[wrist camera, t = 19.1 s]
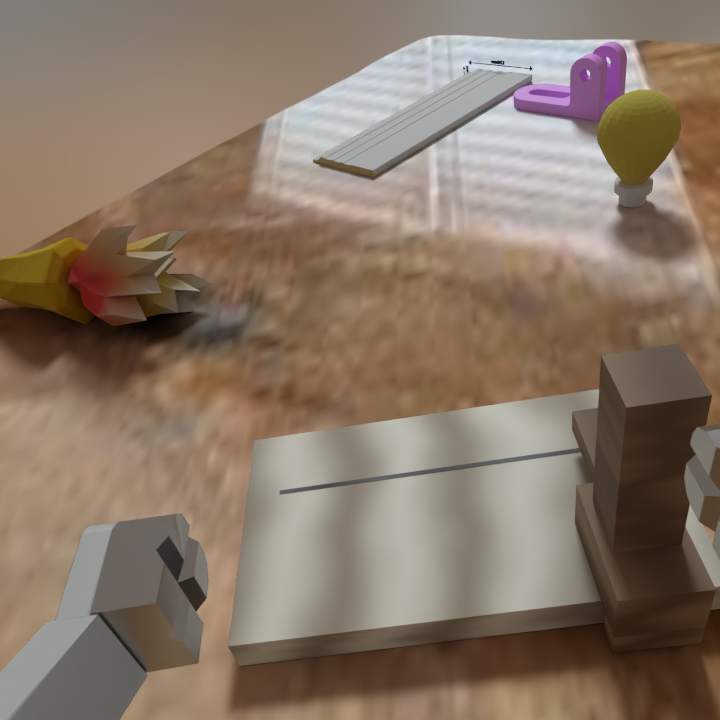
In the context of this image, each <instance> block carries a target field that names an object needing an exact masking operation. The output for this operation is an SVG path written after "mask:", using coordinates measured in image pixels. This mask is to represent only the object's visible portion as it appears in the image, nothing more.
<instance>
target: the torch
mask: <svg viewBox="0 0 720 720" xmlns="http://www.w3.org/2000/svg"><path fill="white" fill-rule="evenodd" d="M136 226H137V225H133V226H126V227H118V228H110V229H103V230H101V232H100V233H99V234H98V235H97V236H96V238H95V239H94V240H93V241H92V242H91V244H90V245H89V246H88V245H86V244H84V243H81V242H79V241H77V240H75V239H73V238H71V237H68V238H65V239H63V240H61V241H59V242H56V243H54V244H52V245H49V246H47V247H45V248H42V249H40V250H37V251H32V252H28V253H24V254H20V255H15V256H11V257H7V258H0V298H2V299H5V300H7V301H9V302H12V303H14V304H16V305H18V306H23V307H29V308H36V309H42V310H49V311H52V312H55V313H57V314H60V315H62V316H65V317H67V318H70V319H73V320H75V321H78V322H80V323H83V324H88V323H89V322H90V321H91V320H92V319H93V318H94V317H95V316H97V317H98V318H100V319H102V320H103V321H105V322H107V323H109V324H110V325H112V326H117V325H123V324H129V323H135V322H141V321H146V320H147V319H146V317H149V316H153V315H158V314H164V313H178V312H192V311H195V309H194V308H193V306H192V305H191V303H190V302H189V300H188V299H187V297H186V296H185V294H184V293H183V292H195V291H199V290H197V288H200V287H204V286H207V285H211V284H210V283H208V282H206V281H204V280H202V279H201V278H199V277H197V276H195V275H193V274H168V273H166V270H167V269H168V268H169V267H170V266H171V265H172V264H173V263H174V262H175V260H176V259H175V258H171V259H168V258H169V257H170V256H171V255H172V254H173V253H174V252H175V251H170V250H171V249H172V248H173V247H174V246H175V245H176V244H177V243H178V242H179V241H180V240H181V239H182V237H183V236H184V235H185V234H186V233H187V232H188V231H186V230H185V231H174V232H166V233H161V234H158V235H155V236H152V237H149V238H146V239H143V240H140V241H137V242H134V243H131V244H128V245H127V239H128V237H129V235H130V234H131V233H132V231H133V230H134V228H135V227H136Z"/></svg>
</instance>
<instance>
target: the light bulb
mask: <svg viewBox="0 0 720 720" xmlns="http://www.w3.org/2000/svg"><path fill="white" fill-rule="evenodd" d="M680 130H681V121H680V116H679V113H678V111H677V109H676V107H675V105H674V104H673V102H672V101H671V100H670V99H669V98H667V97H666V96H664V95H663V94H661V93H659V92H656V91H652V90H636V91H632V92H628V93H626V94H624V95H622V96H620V97H619V98H617V99H616V100H615V101H613V102H612V103H611V104H610V105H609V106H608V107H607V109H606V110H605V112H604V114H603V115H602V117H601V119H600V121H599V125H598V129H597V140H598V144H599V146H600V148H601V150H602V152H603V154H604V156H605V158H606V160H607V162H608V163H609V165H610V166H611V167H612V169H613V170H614V171H615V173H616V174H617V175H618V178H616V180H615V188H614V191H615V193H616V194H617V195H619V204H620V205H622V206H624V207H639V206H642V205H644V204H645V202H646V196H647V195H648V194H650V193H651V191H652V187H653V179H652V177H650V176H651V175H652V174H653V172H654V171H655V170H656V169H657V168H658V167H659V166H660V165H661V164H662V163H663V161H664V160H665V159H666V157H667V156H668V154H669V153H670V151H671V150H672V148H673V147H674V145H675V144H676V142H677V140H678V138H679V135H680Z"/></svg>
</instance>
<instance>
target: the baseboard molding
mask: <svg viewBox="0 0 720 720" xmlns="http://www.w3.org/2000/svg"><path fill="white" fill-rule="evenodd" d="M492 62H493V63H495V64H502V63H501V62H502V61H491V63H492ZM469 63H470V64H471V63H472V62H471V60H470V62H469ZM477 64H482V63H477ZM487 65H492V64H487ZM503 65H504V61H503ZM497 66H502V65H497ZM507 67H511V66H507ZM466 68H468V66H466ZM516 68H521V67H516ZM463 69H465V68H464V67H463ZM526 69H530V71H531V70H532V68H531V66H530V68H526ZM466 71H467V72H468V69H467V70H466ZM464 74H465V73H464ZM531 81H532V74H522V73H513V72H508V73H507V72H502V71H492V70H483V69H477V70H475V71H473V72H469V73H467V74H465V75H463V76H462V77H460V78H458V79H456V80H454V81H453V82H451V83H449V84H447V85H446V86H444V87H442V88H440V89H438V90H437V91H435V92H433V93H431V94H429V95H428V96H426V97H424V98H422V99H420V100H419V101H417V102H415V103H413V104H411V105H410V106H408V107H406V108H404V109H403V110H401V111H399V112H397V113H395V114H394V115H392V116H390V117H388V118H386V119H385V120H383V121H381V122H379V123H377V124H376V125H374V126H372V127H370V128H368V129H367V130H365V131H363V132H361V133H359V134H358V135H356V136H354V137H352V138H351V139H349V140H347V141H345V142H343V143H342V144H340V145H338V146H336V147H334V148H333V149H331V150H329V151H327V152H325V153H324V154H322V155H320V156H318V157H316V158H315V159H313V162H316V163H320V164H323V165H327V166H331V167H335V168H339V169H343V170H347V171H351V172H354V173H358V174H362V175H366V176H370V177H375V176H377V175H378V174H380V173H381V172H383V171H385V170H386V169H388V168H390V167H391V166H393V165H395V164H396V163H398V162H400V161H401V160H403V159H405V158H406V157H408V156H409V155H411V154H413V153H414V152H416V151H418V150H419V149H421V148H423V147H424V146H426V145H428V144H429V143H431V142H433V141H434V140H436V139H437V138H439V137H441V136H442V135H444V134H446V133H447V132H449V131H451V130H452V129H454V128H456V127H457V126H459V125H460V124H462V123H464V122H465V121H467V120H469V119H470V118H472V117H474V116H475V115H477V114H479V113H480V112H482V111H484V110H485V109H487V108H488V107H490V106H492V105H493V104H495V103H497V102H498V101H500V100H502V99H503V98H505V97H507V96H508V95H510V94H511V93H513V92H515V91H516V90H518V89H520V88H521V87H523V86H525V85H526V84H528V83H530V82H531Z"/></svg>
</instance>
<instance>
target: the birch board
mask: <svg viewBox="0 0 720 720" xmlns="http://www.w3.org/2000/svg"><path fill="white" fill-rule="evenodd" d="M598 401H599V389H597V390H590V391H583V392H577V393H570V394H563V395H556V396H550V397H543V398H536V399H530V400H523V401H516V402H509V403H503V404H496V405H489V406H483V407H476V408H469V409H462V410H456V411H449V412H442V413H436V414H429V415H422V416H415V417H409V418H402V419H395V420H389V421H382V422H375V423H368V424H362V425H355V426H348V427H342V428H335V429H328V430H321V431H315V432H308V433H301V434H295V435H288V436H281V437H275V438H268V439H261V440H254V447H253V455H252V463H251V471H250V479H249V487H248V495H247V502H246V510H245V518H244V526H243V534H242V542H241V550H240V558H239V565H238V573H237V581H236V589H235V597H234V605H233V613H232V621H231V628H230V636H229V644H228V647H229V649H230V650H231V652H232V654H233V655H234V657H235V659H236V660H237V662H238V664H239V665H240V666H244V665H252V664H261V663H269V662H277V661H286V660H294V659H303V658H311V657H319V656H328V655H336V654H345V653H353V652H361V651H370V650H378V649H387V648H395V647H403V646H412V645H420V644H429V643H437V642H445V641H454V640H462V639H471V638H479V637H487V636H496V635H504V634H513V633H521V632H529V631H538V630H546V629H555V628H563V627H571V626H580V625H588V624H596V623H604V621H605V611H604V608H603V605H602V602H601V599H600V596H599V593H598V590H597V587H596V584H595V581H594V578H593V575H592V572H591V569H590V566H589V563H588V560H587V557H586V554H585V551H584V548H583V545H582V542H581V539H580V536H579V533H578V531H577V528H576V525H575V504H576V485H581V484H588V483H592V480H591V478H590V475H589V472H588V470H587V467H586V465H585V462H584V459H583V457H582V454H581V452H580V449H579V446H578V444H577V441H576V438H575V436H574V433H573V431H572V411H579V410H586V409H593V408H598ZM685 527H686V529H687V531H688V533H689V535H690V537H691V539H692V541H693V543H694V545H695V547H696V549H697V551H698V553H699V555H700V557H701V559H702V562H703V564H704V566H705V568H706V570H707V572H708V574H709V576H710V578H711V580H712V582H713V584H714V586H715V588H716V592H715V596H714V600H713V603H712V607H711V610H714V609H720V560H719V558H718V556H717V554H716V552H715V550H714V549H713V547H712V542H711V540H710V538H709V536H708V534H707V532H706V530H705V528H704V526H703V525H702V523H700V522H699V521H698V519H697V517H696V515H695V513H694V512H693V510H692V508H691V505H690V506H689V511H688V516H687V521H686V526H685Z"/></svg>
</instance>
